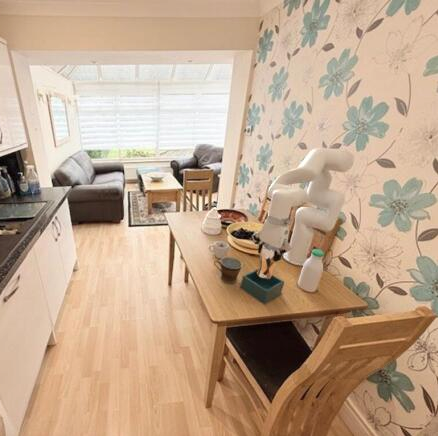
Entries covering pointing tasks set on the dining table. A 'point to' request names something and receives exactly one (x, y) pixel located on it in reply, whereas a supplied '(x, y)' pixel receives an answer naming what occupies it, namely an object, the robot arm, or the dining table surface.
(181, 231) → the dining table surface
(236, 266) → the ceramic cup
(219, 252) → the cup
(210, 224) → the honey pot
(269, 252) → the beer glass
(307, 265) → the milk bottle
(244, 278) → the tub
